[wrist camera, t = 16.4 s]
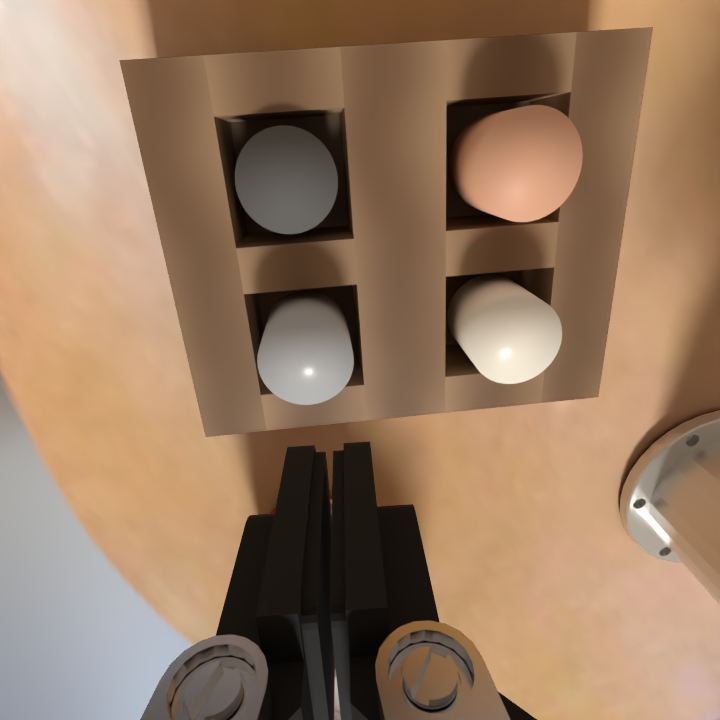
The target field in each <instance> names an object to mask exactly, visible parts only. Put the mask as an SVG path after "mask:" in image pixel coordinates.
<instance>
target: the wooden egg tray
mask: <svg viewBox="0 0 720 720" xmlns="http://www.w3.org/2000/svg"><path fill="white" fill-rule="evenodd" d="M652 30H653V27H648V28H632V29H616V30H600V31H584V32H568V33H552V34H536V35H520V36H504V37H488V38H472V39H455V40H439V41H423V42H407V43H391V44H375V45H359V46H343V47H327V48H311V49H295V50H279V51H262V52H246V53H230V54H214V55H198V56H182V57H166V58H150V59H134V60H120V65H121V69H122V73H123V78H124V82H125V86H126V91H127V95H128V100H129V104H130V108H131V113H132V117H133V121H134V126H135V130H136V134H137V139H138V143H139V148H140V152H141V156H142V161H143V165H144V169H145V174H146V178H147V183H148V187H149V191H150V196H151V200H152V204H153V209H154V213H155V217H156V222H157V226H158V231H159V235H160V239H161V244H162V248H163V252H164V257H165V261H166V266H167V270H168V274H169V279H170V283H171V287H172V292H173V296H174V300H175V305H176V309H177V314H178V318H179V322H180V327H181V331H182V335H183V340H184V344H185V349H186V353H187V357H188V362H189V366H190V370H191V375H192V379H193V383H194V388H195V392H196V397H197V401H198V405H199V410H200V414H201V418H202V423H203V427H204V432H205V436H206V437H210V436H220V435H230V434H240V433H249V432H259V431H269V430H279V429H289V428H298V427H308V426H318V425H328V424H338V423H348V422H357V421H367V420H377V419H387V418H397V417H407V416H416V415H426V414H436V413H446V412H456V411H466V410H475V409H485V408H495V407H505V406H515V405H525V404H534V403H544V402H554V401H564V400H574V399H584V398H593V397H598V395H599V388H600V382H601V375H602V368H603V361H604V355H605V348H606V341H607V334H608V328H609V321H610V314H611V307H612V301H613V294H614V287H615V280H616V274H617V267H618V260H619V253H620V246H621V240H622V233H623V226H624V219H625V213H626V206H627V199H628V192H629V186H630V179H631V172H632V165H633V159H634V152H635V145H636V138H637V132H638V125H639V118H640V111H641V105H642V98H643V91H644V84H645V77H646V71H647V64H648V57H649V50H650V44H651V37H652ZM530 105H544V106H549V107H552V108H555V109H557V110H559V111H561V112H562V113H563V114H565V115H566V116H567V117H568V118H569V119H570V120H571V121H572V123H573V124H574V126H575V127H576V129H577V131H578V133H579V136H580V139H581V144H582V152H583V158H582V167H581V172H580V175H579V178H578V181H577V183H576V185H575V187H574V189H573V191H572V192H571V194H570V195H569V197H568V198H567V199H566V200H565V202H564V203H563V204H562V205H561V206H560V207H559V208H557V209H556V210H555V211H553V212H552V213H550V214H549V215H547V216H545V217H543V218H541V219H538V220H534V221H530V222H514V221H510V220H506V219H503V218H500V217H498V216H495V215H492V214H489V213H486V212H483V211H481V210H478V209H475V208H473V207H471V206H469V205H467V204H466V203H464V202H463V201H462V200H461V199H460V198H459V197H458V196H457V194H456V192H455V191H454V189H453V187H452V184H451V181H450V177H449V158H450V153H451V150H452V147H453V145H454V142H455V141H456V139H457V137H458V136H459V134H460V133H461V132H462V130H463V129H464V128H465V127H466V126H467V125H469V124H470V123H471V122H472V121H474V120H476V119H477V118H480V117H482V116H484V115H488V114H492V113H497V112H501V111H506V110H510V109H515V108H520V107H524V106H530ZM280 125H287V126H294V127H298V128H301V129H303V130H305V131H308V132H309V133H311V134H312V135H314V136H315V137H316V138H318V139H319V140H320V141H321V142H322V143H323V144H324V145H325V147H326V148H327V150H328V151H329V153H330V154H331V156H332V158H333V161H334V163H335V166H336V170H337V176H338V189H337V195H336V199H335V202H334V205H333V207H332V209H331V210H330V212H329V213H328V215H327V216H326V217H325V218H324V220H323V221H322V222H320V223H319V224H318V225H317V226H315V227H313V228H312V229H310V230H308V231H305V232H302V233H297V234H281V233H277V232H273V231H271V230H268V229H266V228H264V227H262V226H261V225H259V224H258V223H257V222H255V221H254V220H253V219H252V218H251V217H250V216H249V214H248V213H247V212H246V211H245V209H244V207H243V206H242V204H241V202H240V200H239V197H238V194H237V191H236V186H235V168H236V163H237V160H238V157H239V155H240V152H241V150H242V149H243V147H244V146H245V144H246V143H247V142H248V141H249V140H250V139H251V138H252V137H253V136H254V135H256V134H257V133H259V132H260V131H262V130H264V129H266V128H270V127H273V126H280ZM486 274H496V275H501V276H504V277H507V278H509V279H510V280H512V281H513V282H515V283H516V284H518V285H519V286H521V287H523V288H524V289H526V290H527V291H529V292H530V293H532V294H533V295H535V296H536V297H538V298H539V299H541V300H542V301H544V302H545V303H547V304H548V305H549V306H551V307H552V308H553V309H554V311H555V312H556V313H557V315H558V317H559V319H560V322H561V326H562V340H561V345H560V348H559V351H558V353H557V355H556V357H555V358H554V360H553V361H552V362H551V364H550V365H549V366H548V367H547V368H546V369H545V370H544V371H543V372H541V373H540V374H539V375H537V376H536V377H534V378H532V379H530V380H527V381H524V382H521V383H516V384H502V383H497V382H494V381H492V380H490V379H488V378H486V377H485V376H484V375H482V374H481V373H480V372H479V370H478V369H477V368H476V366H475V365H474V364H473V362H472V361H471V360H470V358H469V357H468V356H467V354H466V353H465V352H464V350H463V349H462V348H461V346H460V345H459V344H458V342H457V341H456V340H455V338H454V337H453V336H452V334H451V332H450V330H449V327H448V322H447V312H448V307H449V304H450V301H451V299H452V297H453V296H454V294H455V293H456V292H457V290H458V289H459V288H460V287H461V286H462V285H463V284H465V283H466V282H467V281H469V280H471V279H473V278H475V277H477V276H481V275H486ZM298 291H315V292H319V293H322V294H325V295H327V296H328V297H330V298H331V299H333V300H334V301H335V302H336V303H337V304H338V305H339V306H340V307H341V309H342V310H343V312H344V314H345V316H346V319H347V323H348V329H349V334H350V340H351V345H352V350H353V356H354V366H353V371H352V375H351V377H350V379H349V381H348V383H347V384H346V386H345V387H344V388H343V389H342V390H341V391H340V392H339V393H338V394H337V395H336V396H334V397H333V398H331V399H329V400H327V401H324V402H321V403H318V404H312V405H300V404H294V403H291V402H287V401H285V400H283V399H281V398H279V397H278V396H276V395H275V394H274V393H272V392H271V391H270V390H269V389H268V388H267V386H266V385H265V384H264V382H263V380H262V378H261V376H260V374H259V370H258V364H257V358H258V351H259V347H260V344H261V340H262V337H263V333H264V330H265V326H266V323H267V319H268V316H269V314H270V312H271V310H272V308H273V307H274V306H275V304H276V303H277V302H278V301H280V300H281V299H282V298H283V297H285V296H287V295H289V294H291V293H294V292H298Z"/></svg>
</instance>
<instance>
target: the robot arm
mask: <svg viewBox="0 0 720 720" xmlns="http://www.w3.org/2000/svg"><path fill="white" fill-rule="evenodd" d="M620 515H621V519H622V523H623V526H624V528H625V529H626V531H627V533H628V535H629V536H630V537H631V538H632V539H633V540H634V542H635V543H636V544H637V545H638V546H639V547H640V548H641V549H642V550H644V551H645V552H646V553H648V554H649V555H651V556H653V557H655V558H658V559H661V560H665V561H670V562H682V563H683V564H684V565H685V566H686V567H687V568H688V570H689V571H690V572H691V573H692V574H693V575H694V576H695V577H696V578H697V580H698V581H699V582H700V583H701V584H702V585H703V586H704V587H705V589H706V590H707V591H708V592H709V593H710V594H711V595H712V596H713V598H714V599H715V600H716V601H717V602H718V603H719V604H720V410H718V411H715V412H711V413H707V414H703V415H700V416H698V417H695V418H693V419H691V420H689V421H686V422H684V423H682V424H680V425H679V426H677V427H675V428H674V429H672V430H670V431H669V432H667V433H666V434H664V435H663V436H662V437H661V438H659V439H658V440H657V441H656V442H654V443H653V444H652V445H651V446H650V447H649V448H648V449H647V450H646V451H645V452H644V454H643V455H642V456H641V457H640V458H639V459H638V461H637V462H636V464H635V465H634V467H633V468H632V470H631V471H630V473H629V475H628V477H627V479H626V482H625V484H624V486H623V490H622V494H621V498H620ZM335 667H336V677H337V687H338V696H339V706H340V716H341V720H537V719H535V718H534V717H532V716H531V715H530V714H528V713H527V712H525V711H524V710H523V709H521V708H520V707H519V706H517V705H516V704H514V703H513V702H512V701H510V700H509V699H507V698H506V697H505V696H503V695H502V694H501V693H499V692H498V691H497V689H496V687H495V684H494V682H493V680H492V678H491V676H490V673H489V671H488V669H487V667H486V664H485V662H484V660H483V658H482V656H481V654H480V653H479V651H478V650H477V648H476V647H475V645H474V643H473V642H472V641H471V640H470V639H468V638H467V637H466V636H465V635H464V634H463V633H462V632H461V631H459V630H457V629H455V628H453V627H451V626H449V625H447V624H445V623H440V622H439V618H438V613H437V609H436V604H435V600H434V595H433V590H432V586H431V581H430V577H429V572H428V567H427V563H426V558H425V554H424V549H423V544H422V540H421V535H420V531H419V526H418V521H417V517H416V512H415V509H414V506H413V504H412V505H398V506H383V507H377V504H376V494H375V485H374V476H373V466H372V457H371V448H370V442H358V443H344V451H334V452H333V491H332V515H331V504H330V493H329V482H328V471H327V461H326V453H325V452H316V449H315V445H312V446H297V447H288V448H287V452H286V457H285V462H284V468H283V473H282V478H281V484H280V489H279V494H278V499H277V505H276V510H275V514H265V515H250V516H249V517H248V519H247V521H246V524H245V528H244V532H243V535H242V539H241V543H240V547H239V550H238V554H237V558H236V562H235V566H234V569H233V573H232V577H231V581H230V584H229V588H228V592H227V596H226V599H225V603H224V607H223V611H222V615H221V618H220V622H219V626H218V630H217V633H216V636H214V637H211V638H208V639H205V640H202V641H200V642H198V643H196V644H195V645H193V646H191V647H190V648H188V649H187V650H185V651H184V652H183V653H182V654H181V655H180V656H179V657H177V658H176V660H175V661H174V662H172V663H171V664H170V666H169V667H168V669H167V670H166V672H165V673H164V675H163V677H162V678H161V680H160V681H159V684H158V685H157V687H156V690H155V691H154V693H153V695H152V697H151V699H150V701H149V704H148V705H147V707H146V710H145V711H144V714H143V715H142V717H141V719H140V720H334V695H335Z"/></svg>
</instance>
